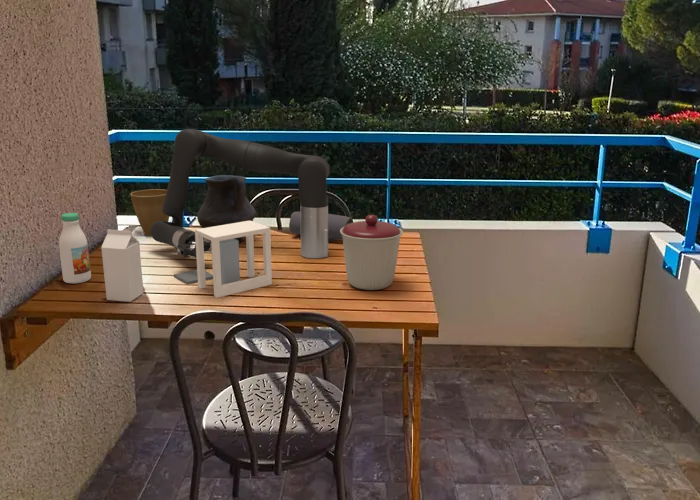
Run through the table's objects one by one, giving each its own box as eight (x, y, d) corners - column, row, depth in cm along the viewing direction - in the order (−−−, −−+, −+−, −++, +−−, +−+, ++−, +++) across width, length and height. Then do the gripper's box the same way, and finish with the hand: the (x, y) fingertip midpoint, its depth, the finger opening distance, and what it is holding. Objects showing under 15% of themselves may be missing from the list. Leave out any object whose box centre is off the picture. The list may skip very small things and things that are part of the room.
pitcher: (236, 231, 244) (234, 167, 238) (269, 242, 229) (267, 174, 222) (188, 240, 231) (184, 172, 224) (220, 253, 216) (216, 180, 209)
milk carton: (130, 302, 170) (124, 234, 165) (106, 300, 172) (99, 232, 166) (143, 293, 177) (138, 227, 172) (120, 291, 178) (114, 226, 173)
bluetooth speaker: (288, 239, 235) (287, 212, 232) (300, 233, 243) (299, 207, 240) (344, 246, 226) (344, 219, 223) (354, 240, 234) (354, 213, 231)
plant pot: (181, 230, 245) (178, 189, 241) (164, 240, 231) (160, 197, 227) (145, 228, 248) (142, 187, 243) (126, 237, 234) (122, 195, 229)
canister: (404, 277, 193) (406, 210, 187) (396, 297, 176) (398, 224, 170) (346, 273, 196) (347, 206, 191) (333, 292, 179) (333, 220, 174)
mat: (173, 276, 191) (173, 274, 191) (200, 271, 197) (200, 268, 197) (187, 284, 185) (187, 281, 184) (214, 278, 190) (214, 275, 190)
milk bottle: (64, 285, 183) (56, 218, 177) (62, 277, 189) (54, 212, 184) (92, 281, 186) (85, 215, 181) (89, 274, 193) (82, 210, 187)
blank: (216, 281, 187) (214, 239, 184) (231, 278, 190) (229, 236, 187) (225, 286, 184) (223, 243, 180) (240, 282, 187) (238, 240, 183)
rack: (198, 287, 182) (194, 229, 178) (251, 275, 194) (250, 220, 189) (216, 297, 174) (213, 237, 170) (271, 284, 186) (270, 227, 181)
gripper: (166, 234, 198) (190, 245, 186) (208, 227, 207) (233, 237, 195) (168, 257, 200) (192, 269, 188) (209, 249, 209) (234, 260, 197)
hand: (212, 253), depth 191 cm, fingers open, 8 cm apart
